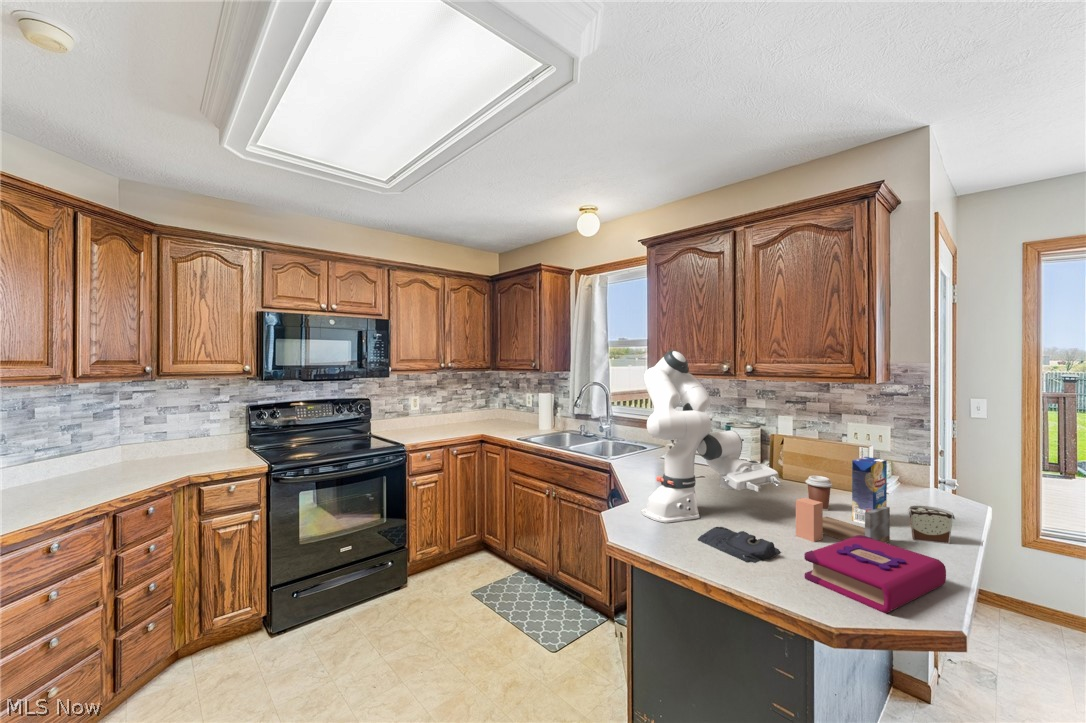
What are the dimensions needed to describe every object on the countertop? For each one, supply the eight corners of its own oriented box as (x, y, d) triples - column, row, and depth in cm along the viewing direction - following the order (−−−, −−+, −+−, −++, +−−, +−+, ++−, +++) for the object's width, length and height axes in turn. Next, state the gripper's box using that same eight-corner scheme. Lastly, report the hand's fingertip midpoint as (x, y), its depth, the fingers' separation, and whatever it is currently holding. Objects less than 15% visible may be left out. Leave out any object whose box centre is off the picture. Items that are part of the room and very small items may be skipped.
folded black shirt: (724, 531, 159) (724, 518, 159) (785, 555, 140) (785, 540, 140) (693, 540, 152) (693, 526, 152) (752, 567, 133) (753, 550, 133)
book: (946, 588, 120) (946, 559, 120) (889, 617, 107) (889, 585, 107) (859, 557, 138) (859, 532, 138) (801, 579, 125) (801, 551, 125)
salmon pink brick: (813, 542, 149) (813, 505, 149) (795, 535, 154) (795, 500, 154) (822, 538, 151) (822, 502, 151) (804, 532, 157) (804, 497, 156)
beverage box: (886, 520, 168) (886, 459, 168) (873, 526, 162) (873, 464, 161) (865, 514, 174) (865, 456, 173) (852, 520, 167) (852, 460, 167)
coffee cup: (832, 513, 175) (832, 482, 175) (805, 509, 180) (805, 478, 180) (832, 506, 183) (832, 476, 183) (806, 503, 188) (806, 473, 188)
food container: (945, 537, 152) (945, 507, 152) (955, 544, 146) (955, 513, 146) (900, 532, 156) (900, 503, 156) (908, 539, 150) (908, 509, 150)
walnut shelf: (870, 549, 143) (870, 513, 143) (806, 528, 161) (806, 496, 160) (889, 541, 149) (889, 507, 149) (826, 522, 166) (826, 491, 166)
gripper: (719, 468, 174) (747, 484, 161) (760, 460, 181) (791, 474, 168) (718, 484, 175) (746, 500, 162) (759, 475, 182) (789, 490, 169)
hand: (769, 487), depth 165 cm, fingers open, 8 cm apart
